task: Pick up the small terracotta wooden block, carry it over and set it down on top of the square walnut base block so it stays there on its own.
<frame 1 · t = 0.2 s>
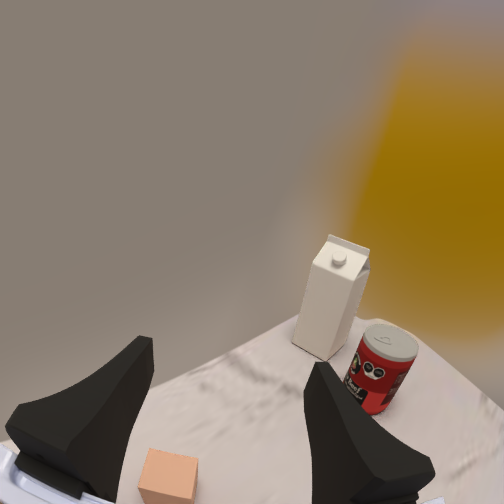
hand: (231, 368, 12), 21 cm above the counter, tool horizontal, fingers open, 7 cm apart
milk carton: (318, 345, 50), on the counter
canned food: (362, 398, 38), on the counter
terracotta block: (172, 493, 21), on the counter
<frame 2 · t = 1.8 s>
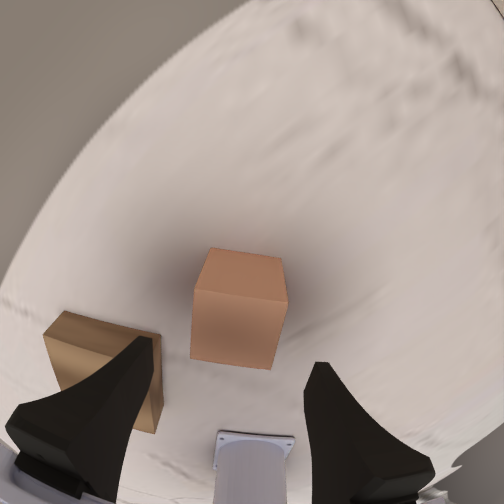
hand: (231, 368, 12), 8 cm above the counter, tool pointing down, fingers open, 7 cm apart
walnut base block: (115, 360, 23), on the counter
terracotta block: (241, 283, 20), on the counter
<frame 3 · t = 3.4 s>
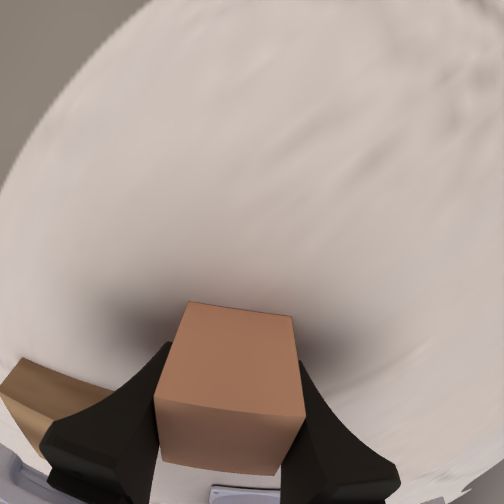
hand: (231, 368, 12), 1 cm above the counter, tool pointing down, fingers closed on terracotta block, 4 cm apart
walnut base block: (87, 413, 17), on the counter
terracotta block: (233, 348, 14), on the counter, touching gripper
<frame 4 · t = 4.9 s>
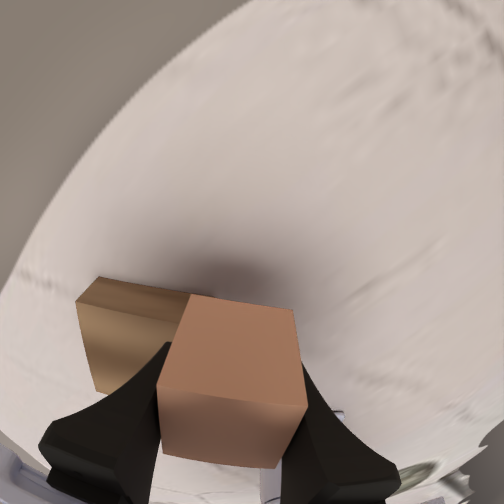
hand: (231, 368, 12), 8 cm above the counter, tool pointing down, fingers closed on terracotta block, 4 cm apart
walnut base block: (155, 333, 22), on the counter
terracotta block: (235, 341, 14), point 7 cm above the counter, touching gripper
when the fingers open (7 cm above the counter, at t = 6.6 s): terracotta block drops 2 cm, resting on walnut base block.
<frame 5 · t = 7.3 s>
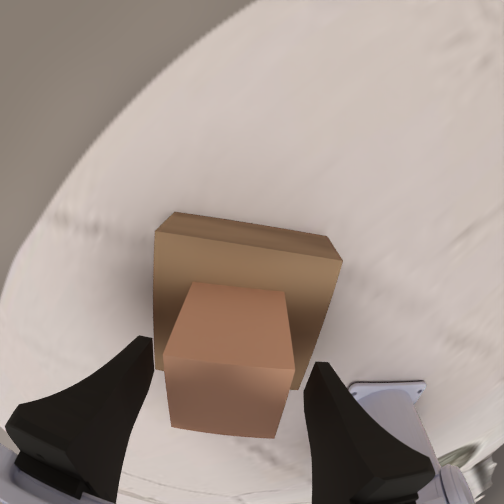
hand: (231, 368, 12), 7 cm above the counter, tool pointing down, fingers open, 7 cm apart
walnut base block: (240, 289, 19), on the counter, touching terracotta block
terracotta block: (234, 324, 15), point 4 cm above the counter, touching walnut base block
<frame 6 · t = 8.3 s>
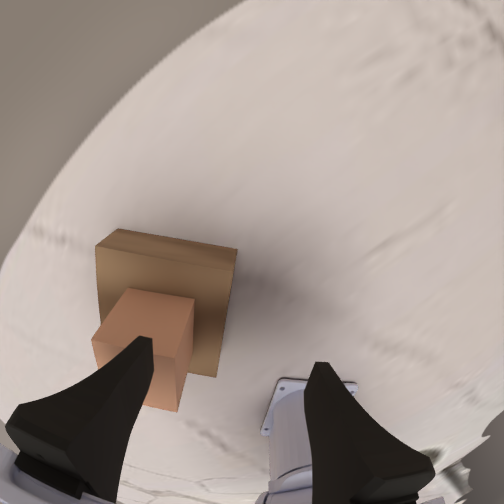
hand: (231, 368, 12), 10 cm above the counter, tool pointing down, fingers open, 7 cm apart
walnut base block: (172, 290, 23), on the counter
terracotta block: (160, 321, 19), point 4 cm above the counter
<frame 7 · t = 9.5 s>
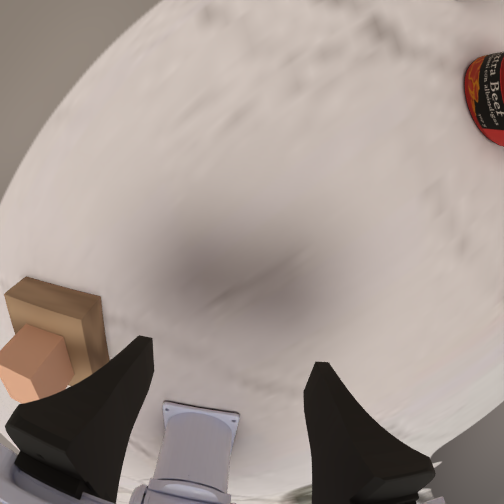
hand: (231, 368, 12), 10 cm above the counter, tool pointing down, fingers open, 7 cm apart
canned food: (492, 101, 16), on the counter
walnut base block: (68, 324, 25), on the counter
terracotta block: (49, 349, 21), point 4 cm above the counter
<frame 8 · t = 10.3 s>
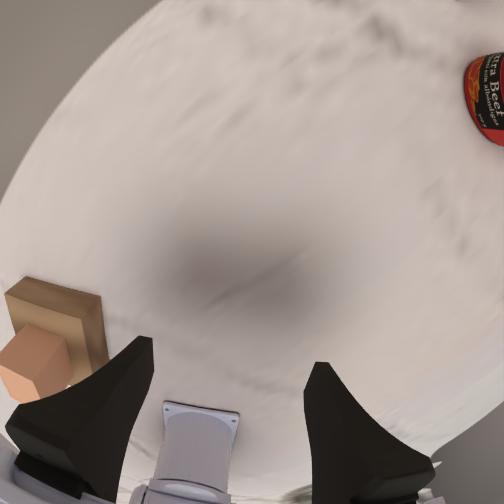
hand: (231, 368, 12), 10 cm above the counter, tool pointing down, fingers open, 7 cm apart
canned food: (492, 101, 16), on the counter
walnut base block: (68, 323, 25), on the counter, touching terracotta block
terracotta block: (49, 349, 21), point 4 cm above the counter, touching walnut base block
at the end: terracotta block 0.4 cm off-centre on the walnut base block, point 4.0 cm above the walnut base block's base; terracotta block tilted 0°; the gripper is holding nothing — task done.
